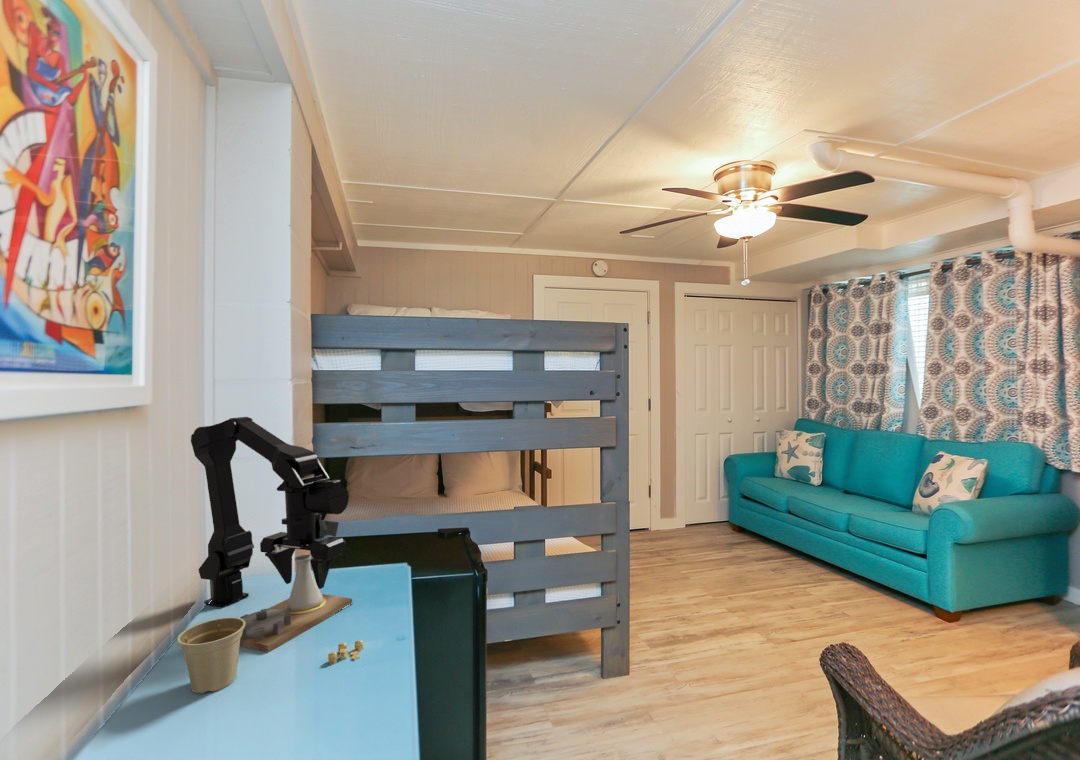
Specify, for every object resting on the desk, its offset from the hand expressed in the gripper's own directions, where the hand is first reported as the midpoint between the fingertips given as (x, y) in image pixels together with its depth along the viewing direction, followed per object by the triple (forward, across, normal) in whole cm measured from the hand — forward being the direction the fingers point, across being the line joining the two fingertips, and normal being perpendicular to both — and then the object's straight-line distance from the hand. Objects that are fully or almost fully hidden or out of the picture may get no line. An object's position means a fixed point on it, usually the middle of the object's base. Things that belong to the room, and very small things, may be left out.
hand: (304, 585), depth 112 cm
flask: (+4, 0, 0) cm, 4 cm away
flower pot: (+6, -7, +25) cm, 27 cm away
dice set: (+6, -22, +11) cm, 25 cm away
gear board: (+6, 0, +4) cm, 7 cm away
